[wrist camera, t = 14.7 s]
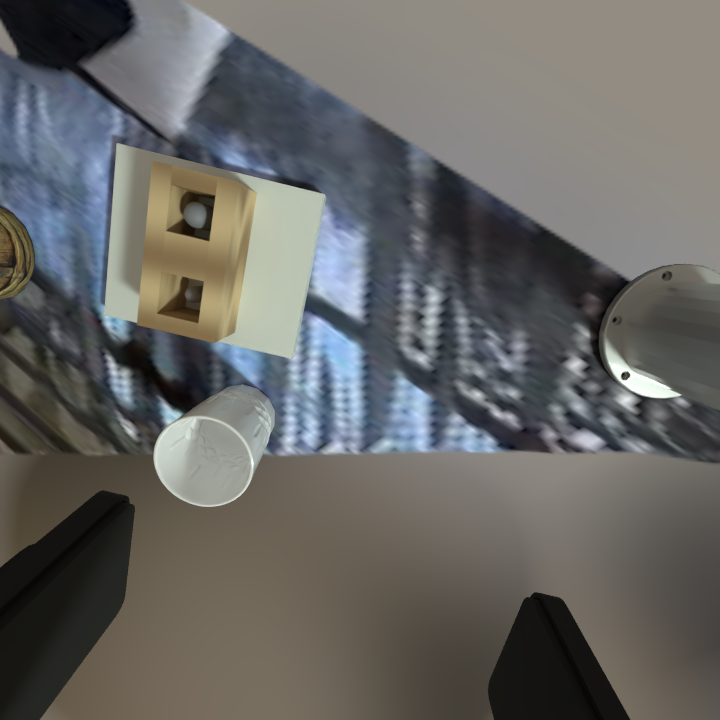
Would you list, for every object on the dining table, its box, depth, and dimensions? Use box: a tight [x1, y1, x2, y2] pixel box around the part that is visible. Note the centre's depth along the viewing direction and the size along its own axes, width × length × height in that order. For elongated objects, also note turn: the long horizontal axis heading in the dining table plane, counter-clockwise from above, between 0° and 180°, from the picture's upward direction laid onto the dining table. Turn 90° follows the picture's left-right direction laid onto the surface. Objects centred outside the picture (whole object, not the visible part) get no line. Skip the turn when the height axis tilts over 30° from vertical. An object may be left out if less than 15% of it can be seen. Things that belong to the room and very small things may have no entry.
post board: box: [104, 143, 326, 359], centre depth 34 cm, size 18×15×6 cm
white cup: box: [154, 384, 275, 507], centre depth 35 cm, size 8×8×10 cm
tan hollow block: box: [137, 161, 257, 343], centre depth 33 cm, size 12×6×5 cm, turn 167°
